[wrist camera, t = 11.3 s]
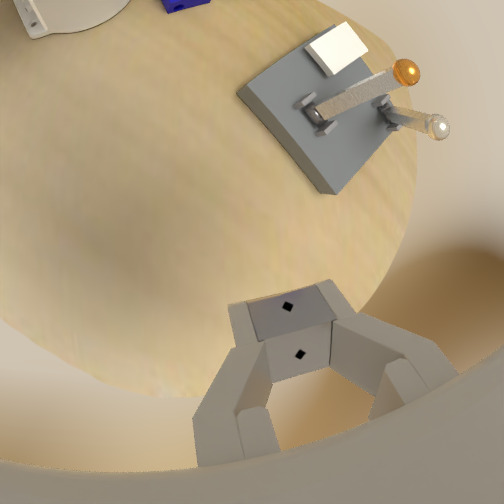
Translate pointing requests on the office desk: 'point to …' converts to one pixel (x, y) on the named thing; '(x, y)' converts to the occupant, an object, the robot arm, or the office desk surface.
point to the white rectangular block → (336, 49)
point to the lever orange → (364, 91)
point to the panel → (304, 129)
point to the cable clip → (181, 4)
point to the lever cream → (417, 121)
